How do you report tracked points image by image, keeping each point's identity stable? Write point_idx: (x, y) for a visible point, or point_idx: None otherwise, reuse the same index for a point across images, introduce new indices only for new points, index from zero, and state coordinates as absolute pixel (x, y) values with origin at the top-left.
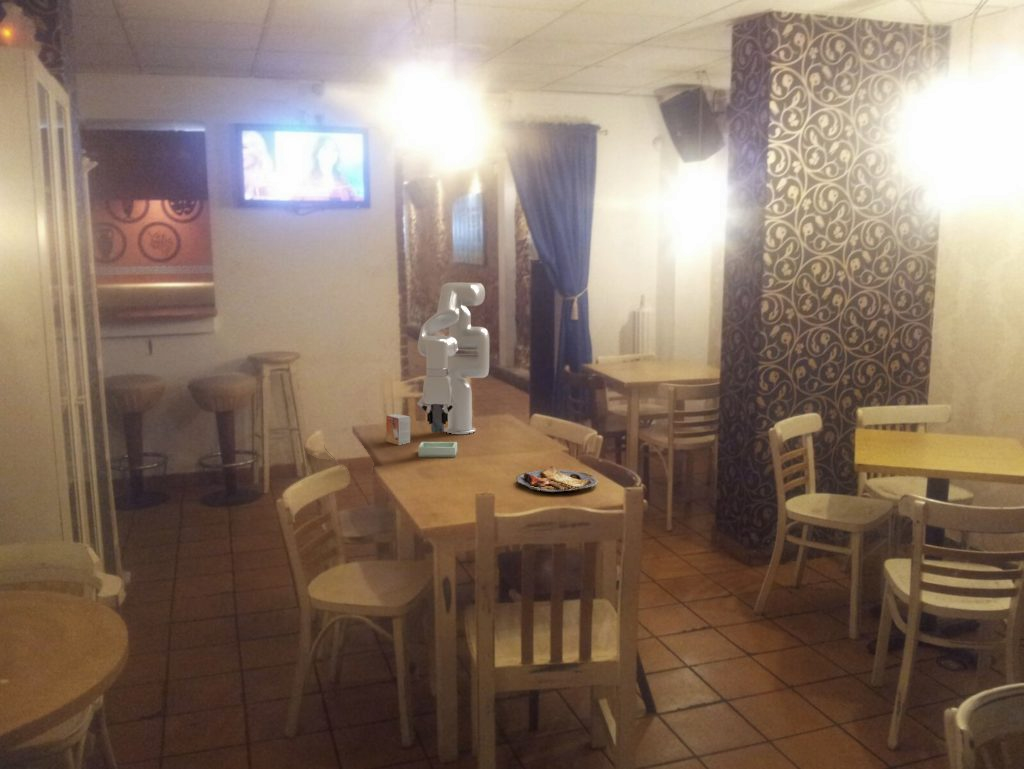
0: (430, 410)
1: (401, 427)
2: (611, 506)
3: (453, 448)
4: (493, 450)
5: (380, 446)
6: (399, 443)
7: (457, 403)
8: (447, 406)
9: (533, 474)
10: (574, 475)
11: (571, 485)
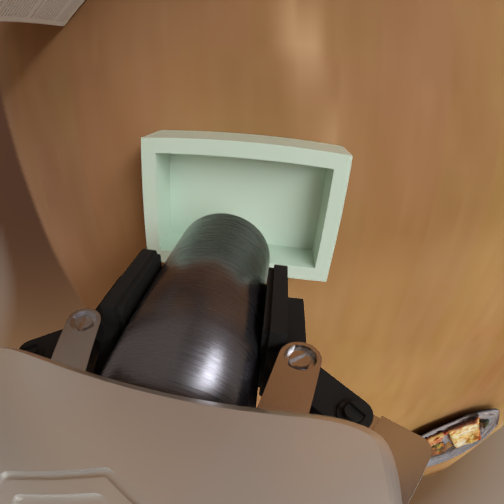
0: (108, 349)
1: (20, 7)
2: (440, 470)
3: (317, 278)
4: (489, 158)
5: (14, 62)
6: (61, 23)
7: (429, 448)
8: (306, 412)
9: (435, 432)
10: (484, 423)
11: (454, 444)
